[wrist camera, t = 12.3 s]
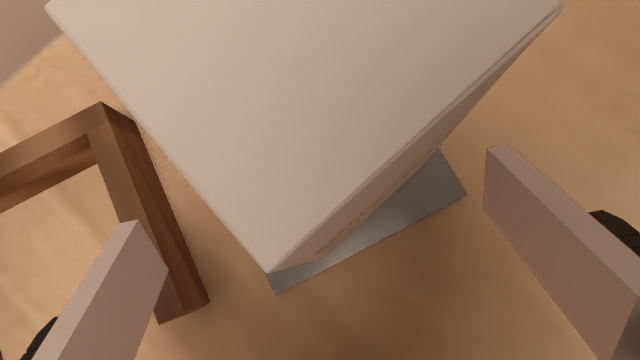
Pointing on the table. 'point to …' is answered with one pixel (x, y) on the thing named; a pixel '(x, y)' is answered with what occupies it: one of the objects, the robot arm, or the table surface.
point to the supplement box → (299, 98)
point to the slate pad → (385, 218)
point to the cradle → (122, 184)
